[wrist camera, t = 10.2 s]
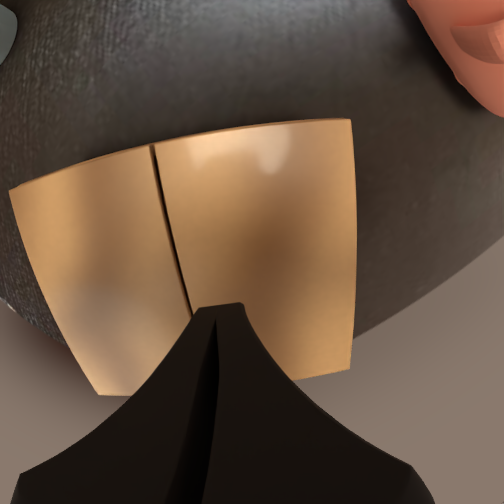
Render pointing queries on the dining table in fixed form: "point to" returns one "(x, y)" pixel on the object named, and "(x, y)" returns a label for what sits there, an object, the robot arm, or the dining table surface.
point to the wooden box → (108, 263)
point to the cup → (6, 31)
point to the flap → (271, 233)
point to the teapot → (469, 44)
